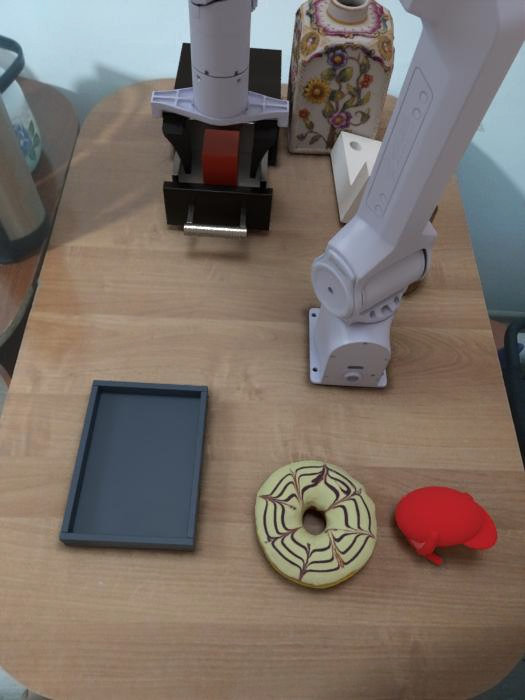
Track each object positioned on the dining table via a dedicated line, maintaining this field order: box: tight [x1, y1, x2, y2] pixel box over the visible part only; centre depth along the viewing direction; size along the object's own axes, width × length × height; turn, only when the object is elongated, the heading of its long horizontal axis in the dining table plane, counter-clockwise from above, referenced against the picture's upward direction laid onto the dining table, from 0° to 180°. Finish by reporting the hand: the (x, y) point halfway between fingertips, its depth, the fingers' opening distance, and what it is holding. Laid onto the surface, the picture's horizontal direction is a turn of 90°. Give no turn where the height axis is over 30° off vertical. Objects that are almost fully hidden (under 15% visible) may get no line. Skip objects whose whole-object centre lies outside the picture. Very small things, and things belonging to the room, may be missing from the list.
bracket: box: [330, 131, 382, 224], centre depth 71 cm, size 13×7×8 cm, turn 2°
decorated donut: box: [254, 459, 378, 589], centre depth 49 cm, size 10×11×4 cm
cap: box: [394, 485, 499, 566], centre depth 48 cm, size 8×6×6 cm
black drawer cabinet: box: [173, 42, 283, 167], centre depth 76 cm, size 15×14×8 cm
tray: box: [58, 379, 209, 552], centre depth 52 cm, size 15×11×2 cm
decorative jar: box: [286, 0, 396, 156], centre depth 72 cm, size 12×12×18 cm
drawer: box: [162, 118, 274, 240], centre depth 68 cm, size 18×12×6 cm
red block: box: [202, 129, 240, 186], centre depth 67 cm, size 4×4×7 cm
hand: (220, 170), depth 67 cm, fingers open, 7 cm apart
